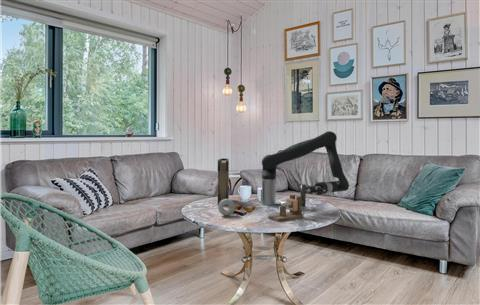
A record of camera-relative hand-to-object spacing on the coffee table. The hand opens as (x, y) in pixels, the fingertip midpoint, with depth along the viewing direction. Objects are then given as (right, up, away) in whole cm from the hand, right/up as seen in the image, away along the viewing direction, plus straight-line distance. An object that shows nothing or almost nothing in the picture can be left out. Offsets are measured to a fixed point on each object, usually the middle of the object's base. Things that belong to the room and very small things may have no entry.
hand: (305, 190), depth 213 cm
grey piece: (-8, -10, -5) cm, 13 cm away
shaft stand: (-12, -15, -8) cm, 21 cm away
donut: (-47, -15, -4) cm, 49 cm away
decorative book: (-50, -12, +35) cm, 62 cm away
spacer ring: (-9, -11, -6) cm, 15 cm away
